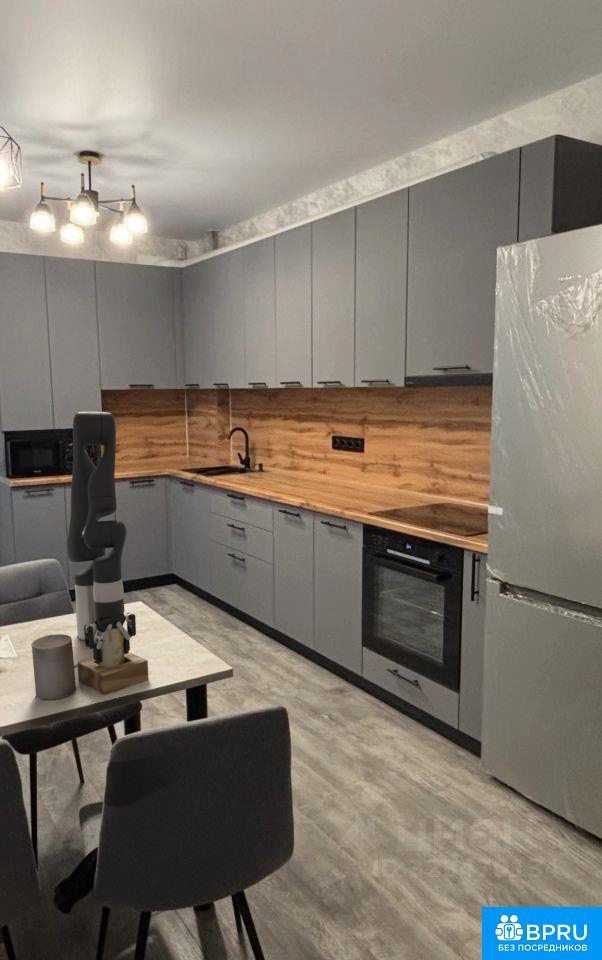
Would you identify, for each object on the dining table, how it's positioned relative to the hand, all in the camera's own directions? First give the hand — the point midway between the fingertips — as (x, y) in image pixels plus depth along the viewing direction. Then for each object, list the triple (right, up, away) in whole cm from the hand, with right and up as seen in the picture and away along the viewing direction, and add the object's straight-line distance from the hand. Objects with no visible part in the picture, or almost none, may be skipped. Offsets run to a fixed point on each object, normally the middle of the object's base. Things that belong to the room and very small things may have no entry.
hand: (112, 657), depth 186 cm
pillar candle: (-13, -8, -6) cm, 16 cm away
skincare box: (0, -4, +1) cm, 4 cm away
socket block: (0, -6, +1) cm, 6 cm away
